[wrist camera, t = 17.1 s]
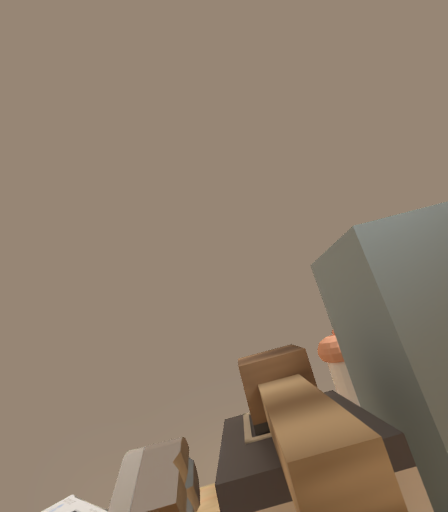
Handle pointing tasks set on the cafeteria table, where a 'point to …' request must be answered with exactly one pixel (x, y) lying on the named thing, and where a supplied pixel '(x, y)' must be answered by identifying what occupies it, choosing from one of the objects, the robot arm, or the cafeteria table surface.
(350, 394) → the salt shaker
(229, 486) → the card box
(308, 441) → the stamp
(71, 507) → the light bulb box
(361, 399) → the stand
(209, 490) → the cafeteria table surface
